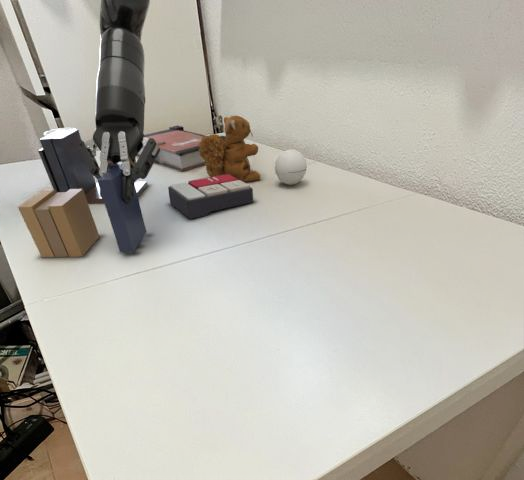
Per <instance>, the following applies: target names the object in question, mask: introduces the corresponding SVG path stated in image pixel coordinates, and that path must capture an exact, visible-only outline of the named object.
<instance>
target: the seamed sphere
mask: <svg viewBox="0 0 524 480" xmlns="http://www.w3.org/2000/svg"><path fill="white" fill-rule="evenodd" d="M314 163H315V161H312V162H308V163H307V159H306V158H305V156H304V155H303V154H302V152H300V151H298V150H297V149H293V148H292V149H286V150H284V151H282V152H281V153H280V154H279V155H278V156H277V158H276V160H275V164H274V173H275V175H276V177H277V179H278V180H279V181H280V182H281V183H282V184H285V185H289V186H293V185H296V184H298V183H300V182H301V181H302V180H303V179H304V177H305V176H306V173H307V168H308V167H307V165H309V164H314Z"/></svg>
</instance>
